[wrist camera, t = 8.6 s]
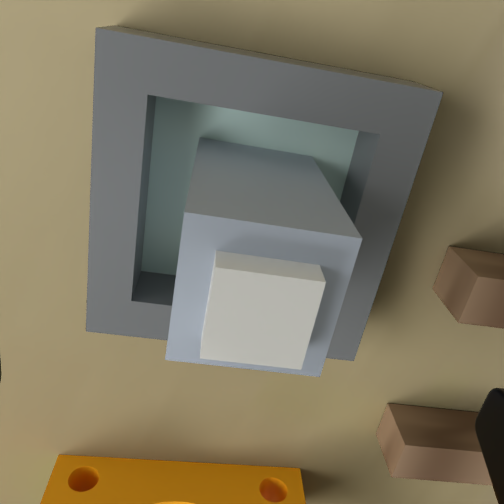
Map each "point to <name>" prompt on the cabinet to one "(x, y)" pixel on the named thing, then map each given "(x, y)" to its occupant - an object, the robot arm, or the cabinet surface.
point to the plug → (259, 262)
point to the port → (240, 132)
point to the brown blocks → (444, 420)
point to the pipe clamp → (169, 482)
